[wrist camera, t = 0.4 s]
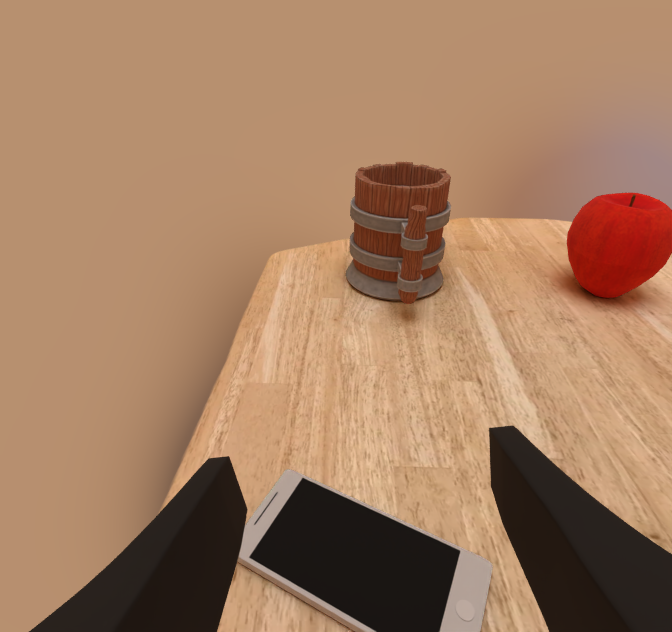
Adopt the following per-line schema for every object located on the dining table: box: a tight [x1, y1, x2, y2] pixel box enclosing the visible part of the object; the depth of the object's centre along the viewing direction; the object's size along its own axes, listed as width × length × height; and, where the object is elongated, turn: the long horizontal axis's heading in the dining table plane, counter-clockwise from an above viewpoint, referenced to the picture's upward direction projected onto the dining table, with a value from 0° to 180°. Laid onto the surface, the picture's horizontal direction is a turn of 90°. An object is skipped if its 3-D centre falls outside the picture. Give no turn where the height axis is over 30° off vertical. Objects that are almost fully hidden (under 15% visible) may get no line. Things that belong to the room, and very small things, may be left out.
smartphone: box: [237, 469, 493, 632], centre depth 27 cm, size 7×16×1 cm, turn 63°
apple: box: [567, 193, 672, 298], centre depth 54 cm, size 12×12×13 cm
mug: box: [346, 162, 451, 304], centre depth 55 cm, size 14×19×15 cm
